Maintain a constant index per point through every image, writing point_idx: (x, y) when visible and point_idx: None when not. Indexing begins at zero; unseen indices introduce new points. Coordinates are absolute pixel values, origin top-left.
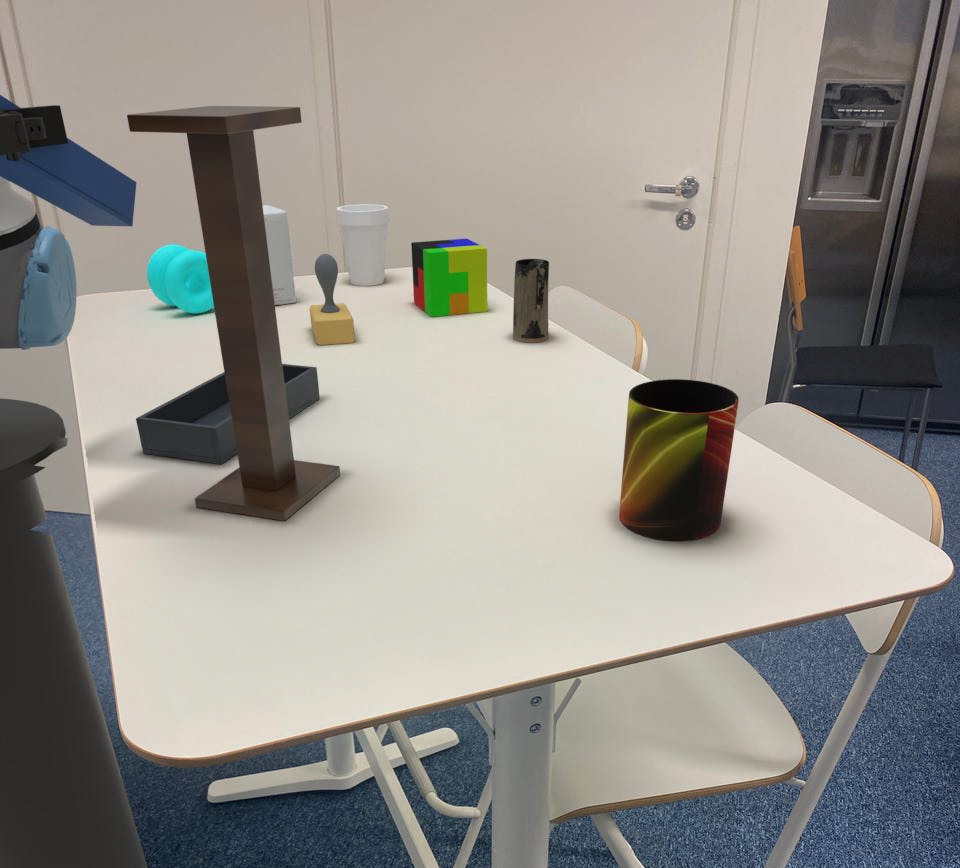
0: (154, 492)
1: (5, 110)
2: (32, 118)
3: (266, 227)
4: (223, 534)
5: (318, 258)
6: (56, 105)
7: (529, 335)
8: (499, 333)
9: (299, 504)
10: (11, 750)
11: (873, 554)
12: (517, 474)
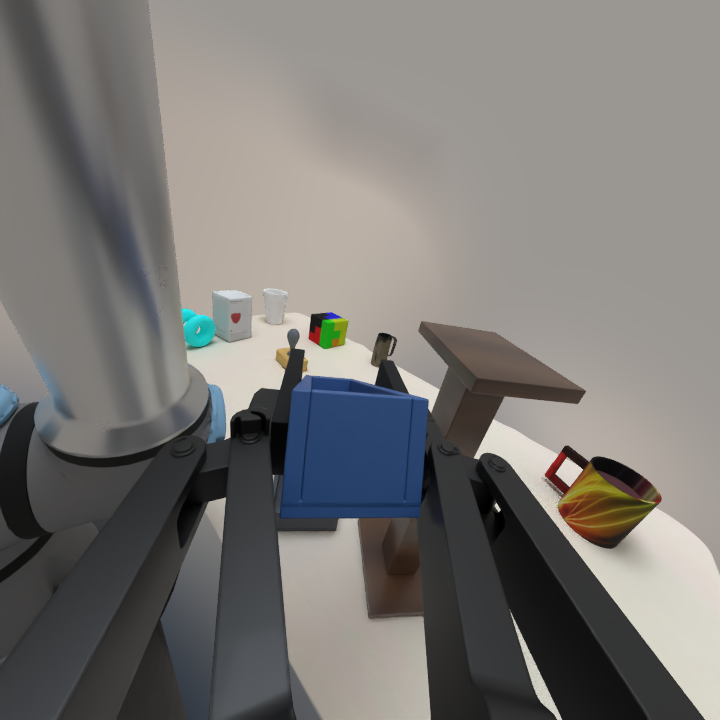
0: (317, 601)
1: None
2: (428, 415)
3: (242, 304)
4: (425, 665)
5: (291, 331)
6: (389, 361)
7: None
8: (363, 361)
9: None
10: None
11: (668, 530)
12: None
